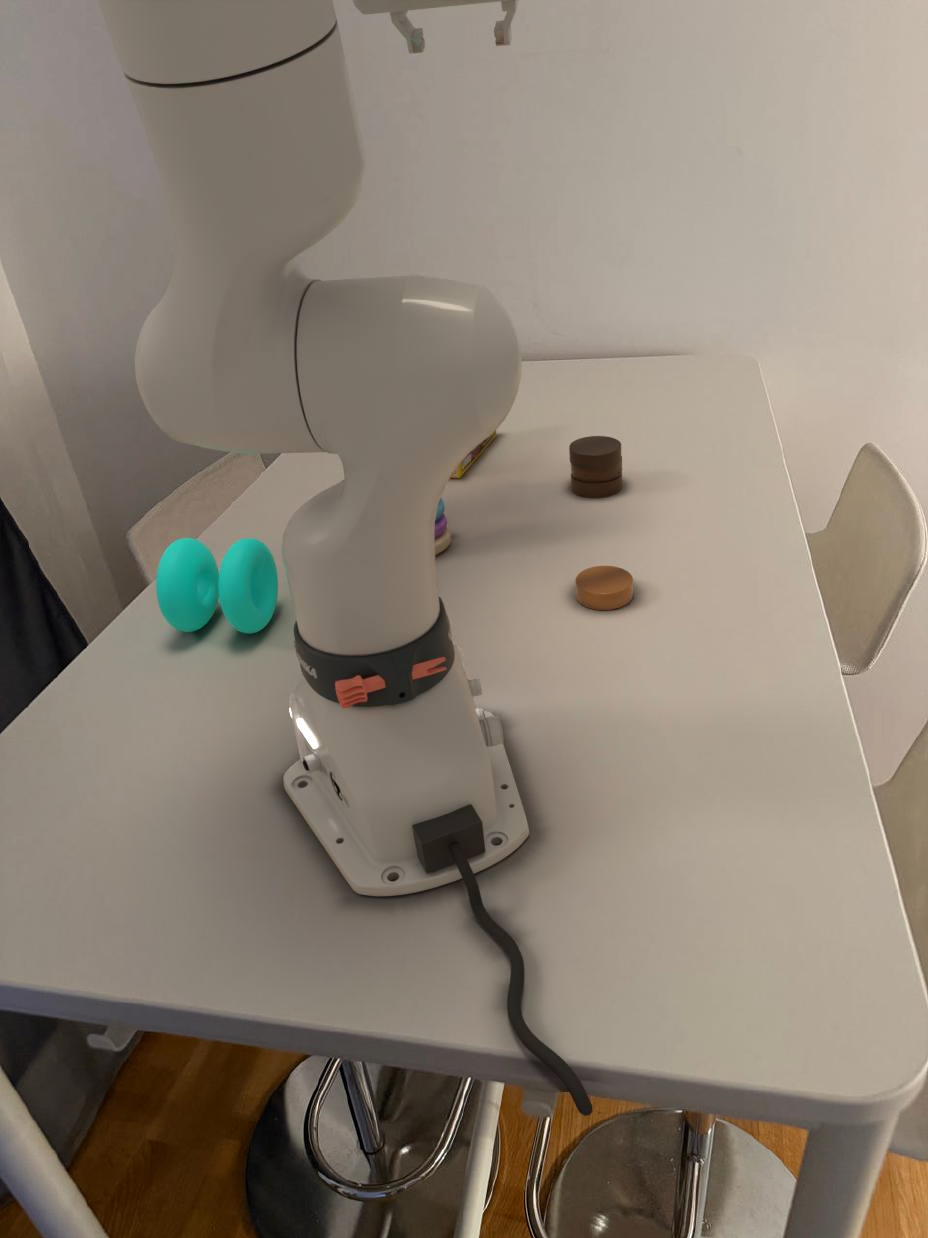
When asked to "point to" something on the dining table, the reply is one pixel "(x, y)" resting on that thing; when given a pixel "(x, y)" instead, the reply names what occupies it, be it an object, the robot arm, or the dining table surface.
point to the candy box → (472, 457)
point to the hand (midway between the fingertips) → (460, 46)
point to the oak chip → (604, 587)
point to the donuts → (217, 585)
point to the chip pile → (596, 466)
